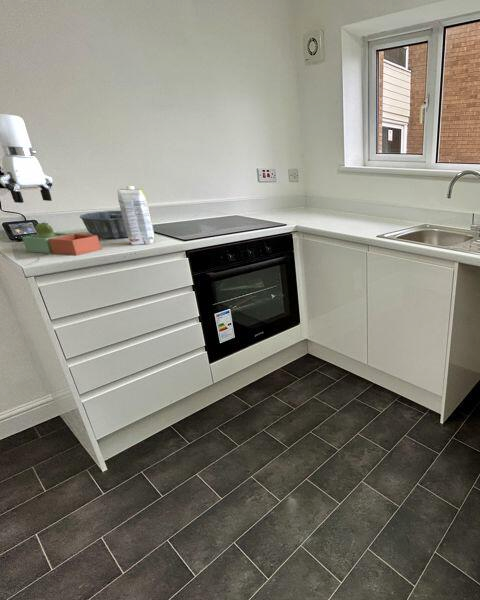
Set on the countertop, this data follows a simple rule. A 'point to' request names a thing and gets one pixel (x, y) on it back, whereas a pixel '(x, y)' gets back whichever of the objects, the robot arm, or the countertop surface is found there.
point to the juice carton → (136, 215)
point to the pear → (44, 230)
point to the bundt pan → (105, 224)
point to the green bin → (39, 243)
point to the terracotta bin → (74, 244)
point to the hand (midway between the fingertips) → (33, 201)
